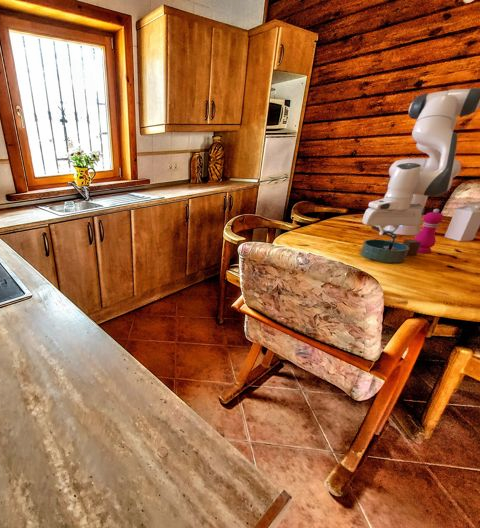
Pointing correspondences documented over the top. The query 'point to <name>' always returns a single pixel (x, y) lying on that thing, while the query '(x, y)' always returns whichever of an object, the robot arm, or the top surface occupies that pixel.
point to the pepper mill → (429, 231)
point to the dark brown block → (412, 246)
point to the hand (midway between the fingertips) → (385, 234)
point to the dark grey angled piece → (387, 235)
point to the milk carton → (464, 222)
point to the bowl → (384, 251)
